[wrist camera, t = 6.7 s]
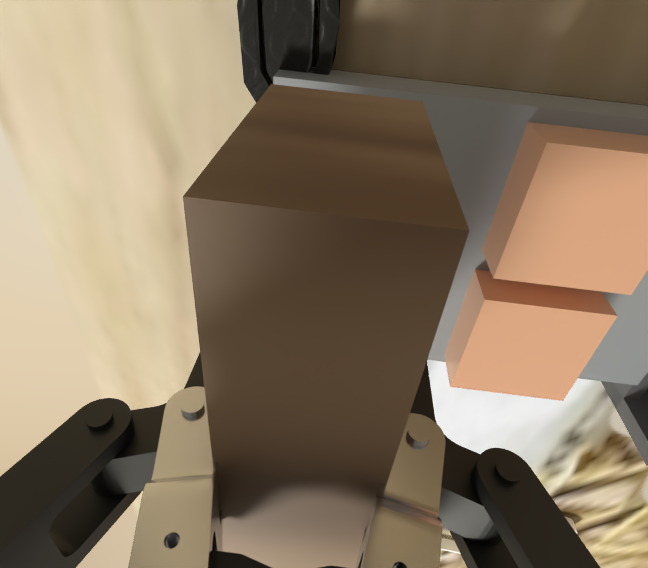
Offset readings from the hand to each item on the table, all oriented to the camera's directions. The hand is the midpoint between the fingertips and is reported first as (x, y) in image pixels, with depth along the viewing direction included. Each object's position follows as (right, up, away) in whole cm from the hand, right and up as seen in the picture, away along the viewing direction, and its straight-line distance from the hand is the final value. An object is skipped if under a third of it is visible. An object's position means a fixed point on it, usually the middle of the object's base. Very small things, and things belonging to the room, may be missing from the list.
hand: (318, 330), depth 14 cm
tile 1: (+9, +5, +2) cm, 10 cm away
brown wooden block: (0, 0, 0) cm, 0 cm away
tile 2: (+9, 0, +6) cm, 10 cm away
